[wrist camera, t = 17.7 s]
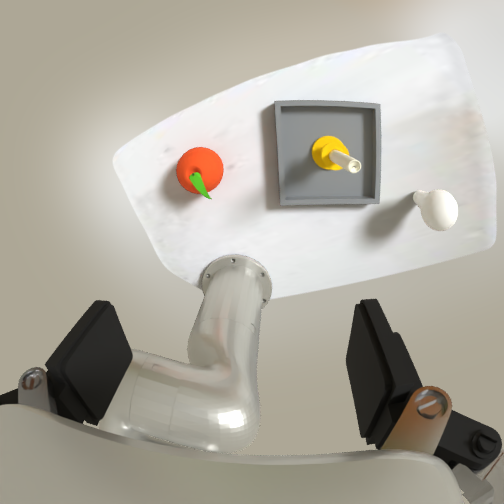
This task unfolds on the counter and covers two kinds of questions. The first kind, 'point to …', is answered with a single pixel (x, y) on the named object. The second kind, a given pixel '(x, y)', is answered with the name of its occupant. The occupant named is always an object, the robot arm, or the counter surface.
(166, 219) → the counter surface
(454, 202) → the lightbulb
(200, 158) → the clementine
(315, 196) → the tray
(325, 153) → the candle
